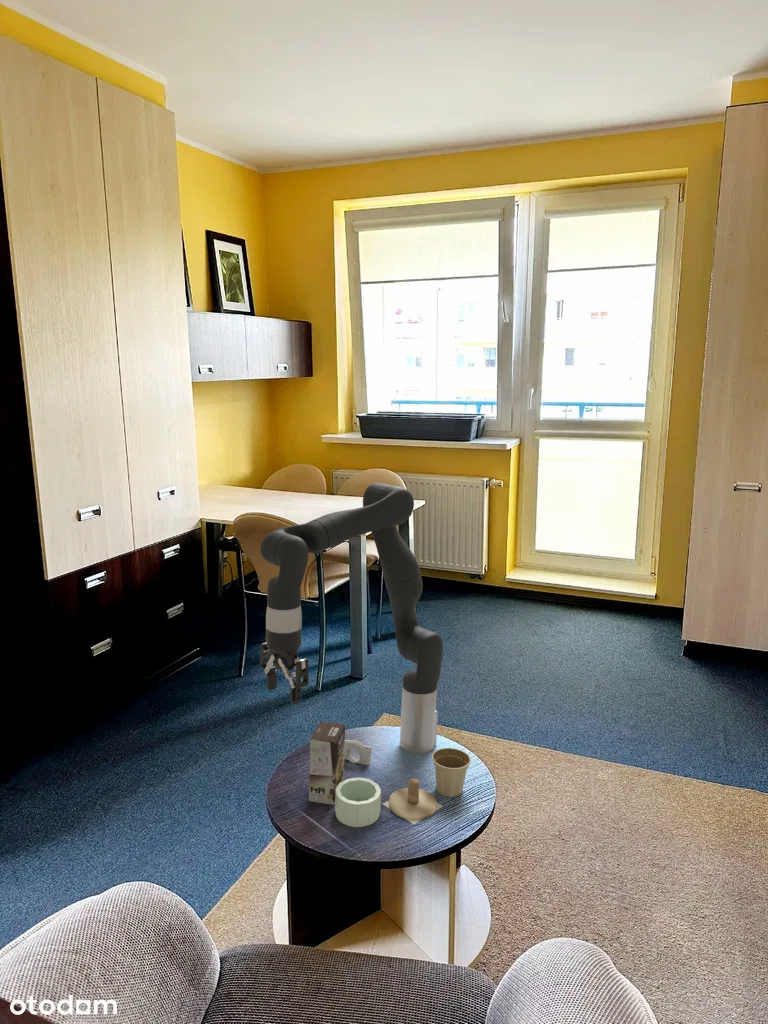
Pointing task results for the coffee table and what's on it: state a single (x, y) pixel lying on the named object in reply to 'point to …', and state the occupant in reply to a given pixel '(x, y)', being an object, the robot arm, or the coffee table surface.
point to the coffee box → (326, 762)
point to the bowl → (357, 802)
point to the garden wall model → (362, 750)
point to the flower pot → (450, 770)
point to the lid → (412, 802)
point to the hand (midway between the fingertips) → (283, 695)
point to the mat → (412, 820)
